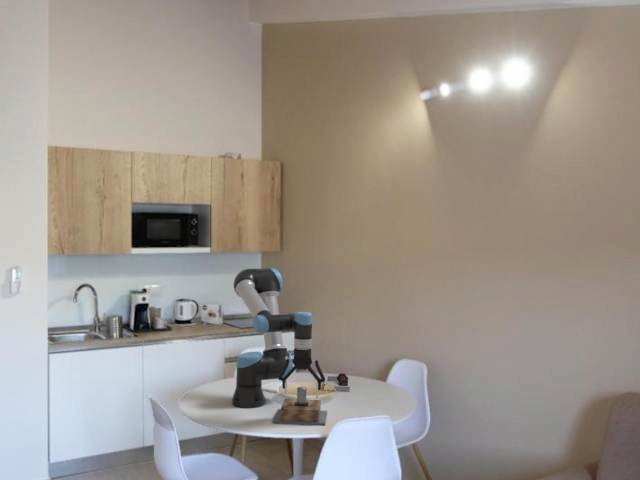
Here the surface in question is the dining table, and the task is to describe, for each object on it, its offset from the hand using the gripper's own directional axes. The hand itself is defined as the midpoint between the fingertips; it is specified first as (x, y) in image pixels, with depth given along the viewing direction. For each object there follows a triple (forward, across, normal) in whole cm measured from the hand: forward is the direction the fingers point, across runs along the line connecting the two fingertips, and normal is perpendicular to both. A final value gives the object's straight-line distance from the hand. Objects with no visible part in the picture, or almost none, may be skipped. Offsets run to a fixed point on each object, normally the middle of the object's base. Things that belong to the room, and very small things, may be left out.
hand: (301, 396), depth 292 cm
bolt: (+10, +17, +59) cm, 62 cm away
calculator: (+10, -16, +51) cm, 54 cm away
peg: (+8, 0, 0) cm, 8 cm away
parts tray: (+9, +14, +59) cm, 61 cm away
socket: (+9, 0, 0) cm, 9 cm away
